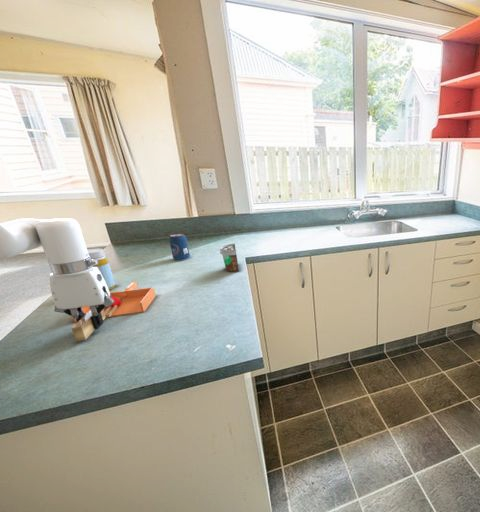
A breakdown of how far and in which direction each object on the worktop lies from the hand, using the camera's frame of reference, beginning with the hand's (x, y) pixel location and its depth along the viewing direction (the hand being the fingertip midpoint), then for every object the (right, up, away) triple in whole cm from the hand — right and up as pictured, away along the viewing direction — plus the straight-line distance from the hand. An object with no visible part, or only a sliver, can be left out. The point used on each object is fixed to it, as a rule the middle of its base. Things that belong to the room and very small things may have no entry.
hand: (92, 327), depth 83 cm
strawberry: (-5, +5, +10) cm, 12 cm away
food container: (+14, +14, +48) cm, 52 cm away
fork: (-1, +1, +3) cm, 3 cm away
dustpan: (-6, +5, +17) cm, 19 cm away
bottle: (-22, +7, +26) cm, 35 cm away
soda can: (-16, +19, +61) cm, 65 cm away
